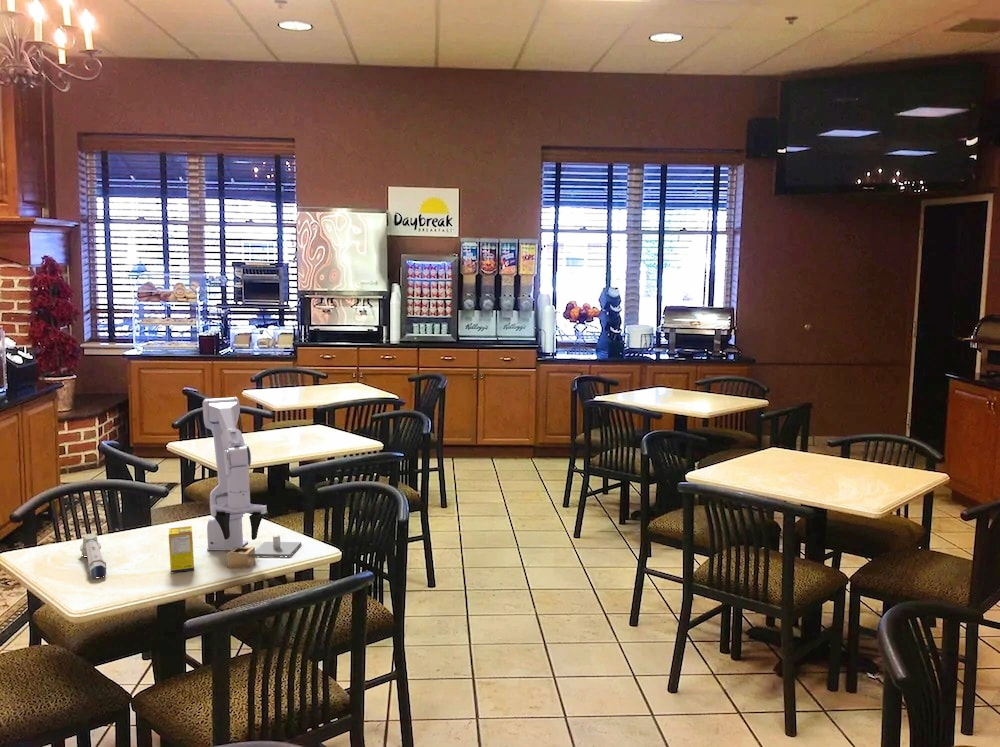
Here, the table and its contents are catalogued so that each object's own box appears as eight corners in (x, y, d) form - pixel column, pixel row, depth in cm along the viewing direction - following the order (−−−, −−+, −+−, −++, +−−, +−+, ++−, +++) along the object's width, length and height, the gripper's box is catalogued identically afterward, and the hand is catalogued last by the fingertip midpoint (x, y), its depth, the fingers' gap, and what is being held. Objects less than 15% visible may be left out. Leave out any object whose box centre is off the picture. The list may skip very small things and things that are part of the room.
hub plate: (251, 556, 237) (251, 541, 237) (264, 544, 248) (264, 530, 248) (289, 557, 237) (289, 542, 236) (301, 544, 247) (300, 530, 247)
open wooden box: (227, 567, 228) (227, 553, 228) (235, 560, 234) (234, 546, 233) (248, 568, 228) (247, 553, 227) (255, 561, 233) (254, 547, 233)
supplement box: (193, 563, 231) (191, 525, 230) (194, 570, 226) (192, 531, 225) (170, 566, 229) (168, 527, 228) (170, 573, 224) (168, 534, 223)
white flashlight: (87, 567, 218) (78, 530, 239) (88, 590, 220) (79, 551, 241) (109, 563, 221) (98, 527, 242) (110, 586, 223) (99, 548, 243)
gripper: (206, 493, 225) (209, 542, 226) (259, 494, 224) (261, 543, 225) (217, 487, 232) (219, 534, 233) (268, 487, 231) (270, 535, 232)
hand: (240, 538), depth 230 cm, fingers open, 7 cm apart
